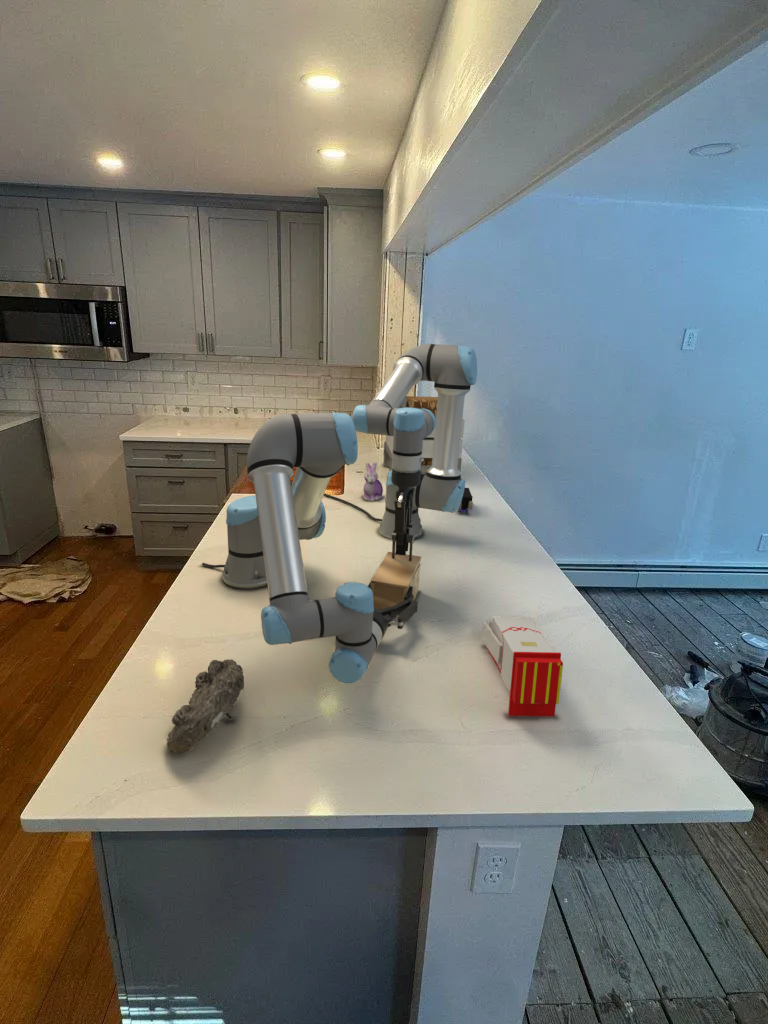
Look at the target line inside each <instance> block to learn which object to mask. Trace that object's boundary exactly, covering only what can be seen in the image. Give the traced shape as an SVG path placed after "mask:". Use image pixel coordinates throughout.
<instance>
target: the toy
mask: <svg viewBox="0 0 768 1024" xmlns="http://www.w3.org/2000/svg"><path fill="white" fill-rule="evenodd" d="M481 632H482V633H481V640H482V642H483V644H484V646H485V648H486V650H487V652H488V654H489V655H490V657H491V659H492V661H493V663H494V664H495V666H496V668H497V670H498V671H499V674H500V676H501V678H502V680H503V682H504V684H505V687H506V688H507V690H508V692H509V700H508V702H509V703H508V710H507V711H508V712H507V715H508V717H551V718H552V717H553V718H555V716H556V707H557V705H559V704H560V698H561V697H560V695H561V688H562V687H561V686H562V678H563V669H564V662H563V661H562V653H561V652H556V651H555V649H554V648H553V647H552V645H551V644H550V643H549V641H548V639H547V638H546V637H545V635H544V634H543V633H542V631H541V630H540V629H539V628H538V626H537V624H536V622H535V621H534V620H533V619H532V617H531V616H514V615H513V616H512V615H511V616H508V615H507V616H506V615H505V616H504V615H492V618H489V620H488V623H487V621H483V623H482V631H481Z"/></svg>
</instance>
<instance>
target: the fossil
mask: <svg viewBox="0 0 768 1024" xmlns="http://www.w3.org/2000/svg"><path fill="white" fill-rule="evenodd" d="M243 670H244V669H243V667H242V665H240V664H237V662H236V661H235V660H234V659H232V658H231V659H227V658H226V659H224V660H223V661H222V660H217V659H212V660H211V661H210V663H209V665H208V666H207V671H201V672H199V673H198V674H197V675H196V676H195V680H194V684H195V685H194V687H195V689H194V690H193V693H192V694H191V697H190V698H189V700H188V704H184V705H182V706H181V707H180V709H177V710H176V711H175V713H174V715H173V716H172V718H171V723H172V724H173V727H172V730H171V731H170V732H168V734H167V738H166V741H167V742H166V745H167V749H168V750H169V751H173V752H174V753H176V754H178V753H182V752H188V751H189V752H192V751H193V750H195V748H196V747H197V746H199V744H200V743H201V742H203V741H204V740H205V739H206V738H207V737H208V736H209V735H210V734H211V733H212V732H214V730H215V729H217V727H218V726H219V724H220V722H221V721H222V720H223V719H224V718H225V716H226V717H227V719H229V720H233V717H232V715H230V714H229V710H230V709H231V708H234V706H235V704H236V703H237V702H238V699H239V697H240V695H241V693H242V691H243V690H245V689H244V688H245V675H244V671H243Z"/></svg>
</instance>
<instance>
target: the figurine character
mask: <svg viewBox="0 0 768 1024" xmlns="http://www.w3.org/2000/svg"><path fill="white" fill-rule="evenodd" d="M473 507H474V501H473V495H472V493H471V489H470V488H469V487H465V489H464V493H463V497H462V500H461V503H460V505H459V508H458V509H457V510H456V511H458V513H459V514H462V512H464V511H465V514H469V511H473Z"/></svg>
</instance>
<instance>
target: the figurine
mask: <svg viewBox="0 0 768 1024" xmlns="http://www.w3.org/2000/svg"><path fill="white" fill-rule="evenodd" d="M365 464H366V465H365V466H366V467H365V470H366V471H365V474H364V475H363V476H364V480H365V483H364V485H363V495H362V498H363V500H364V501H368V502H373V501H378V500H381V499H382V498H383V493H384V487H383V483H382V482H381V481H380V480H379V475H378V473H377V468H378V462H377V461H375V462H374V463H373V464H372V465H370V463H369V462H366V463H365Z"/></svg>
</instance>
